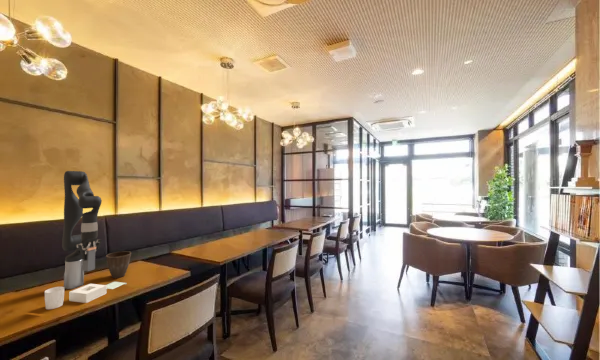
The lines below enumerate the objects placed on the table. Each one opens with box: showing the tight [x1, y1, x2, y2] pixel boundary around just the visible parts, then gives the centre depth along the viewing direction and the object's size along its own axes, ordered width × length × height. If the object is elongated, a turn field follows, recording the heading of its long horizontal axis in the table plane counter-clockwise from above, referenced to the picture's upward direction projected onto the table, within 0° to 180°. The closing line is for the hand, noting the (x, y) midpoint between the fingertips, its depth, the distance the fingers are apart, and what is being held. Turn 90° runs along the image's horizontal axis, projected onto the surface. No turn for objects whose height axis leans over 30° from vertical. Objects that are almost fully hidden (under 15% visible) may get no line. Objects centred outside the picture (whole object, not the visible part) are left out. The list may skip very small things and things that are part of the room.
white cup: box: [44, 286, 65, 310], centre depth 138 cm, size 8×8×10 cm
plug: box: [82, 247, 96, 272], centre depth 149 cm, size 5×5×13 cm
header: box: [68, 283, 108, 304], centre depth 149 cm, size 12×12×6 cm
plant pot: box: [105, 250, 132, 279], centre depth 184 cm, size 15×15×16 cm
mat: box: [106, 281, 127, 290], centre depth 166 cm, size 10×10×1 cm
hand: (88, 259), depth 149 cm, fingers closed on plug, 4 cm apart
